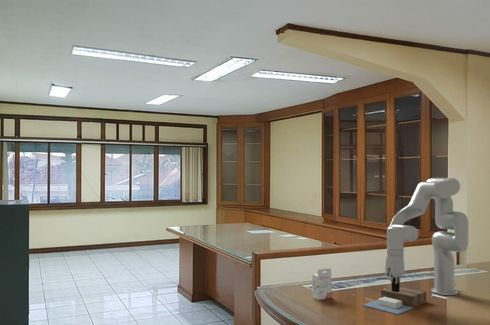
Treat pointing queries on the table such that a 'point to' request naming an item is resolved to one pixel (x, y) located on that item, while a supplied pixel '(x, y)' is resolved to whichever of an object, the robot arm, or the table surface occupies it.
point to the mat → (388, 308)
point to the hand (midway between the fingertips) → (395, 291)
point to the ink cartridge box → (322, 284)
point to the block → (390, 302)
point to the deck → (406, 296)
